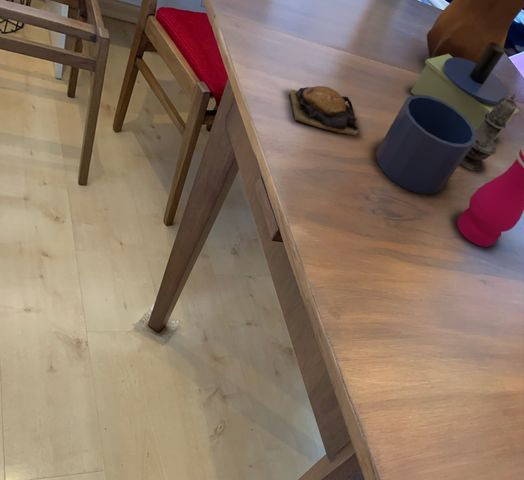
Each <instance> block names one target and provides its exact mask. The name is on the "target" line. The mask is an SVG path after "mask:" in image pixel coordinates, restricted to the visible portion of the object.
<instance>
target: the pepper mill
mask: <svg viewBox="0 0 524 480" xmlns="http://www.w3.org/2000/svg"><path fill="white" fill-rule="evenodd" d="M515 156H516V158H515V160H514V161H513V163H512V164H511V165H510V166H509V167H508V168H507V169H506V170H505V171H504V172H502V173H501V174H500V175H498V176H497V177H494V178H493V179H492V180H490V181H488V182H486V183H484V184H483V185H481V186H480V187H479V188H477V190H476V191H475V192H474V193H473V194H472V195H471V197H470V199H469V202H468V208H466V209H464V211H463V212H462V213H461V214H460V215H459V217H458V218H457V221H456V224H457V228H458V230H459V232H460V233H461V235H462V236H463V237H464V238H465V239H466V240H467V241H469V242H471V243H472V244H474V245H477V246H479V247H483V248H489V247H492V246H493V245H494V244H495V243H496V242H497V241H498V240H499V239H500V238H501V236H502V233H503V232H509V231H510V230H512V229H514V227H516V226H517V224H518V223H519V222H520V220H521V217H522V216H523V214H524V144H523V145H522V146H521V148H520V149H519V150H518V151H517V152H516V155H515Z"/></svg>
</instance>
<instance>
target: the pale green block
mask: <svg viewBox="0 0 524 480" xmlns="http://www.w3.org/2000/svg"><path fill="white" fill-rule="evenodd" d="M449 58H453V57H452V56H451V55H449V54H446V55H442V56H438V57H434V58H428V59H426V60H425V62H424V63H425V65H424V67H423V70H421V73H420V74H419V76H418V78H417V80H416V81H415V84H414V85H413V87H412V88H411V91H410V93H411V94H412V95H426V96H430V97H433V98H436V99H439V100H442V101H443V102H445V103H447V104H449V105H450V106H452V107H454V108H455V109H457V110H458V111H459V112H460V113H461V114H463V115H464V116H465V117H466V118H467V119H468V121H469V122H470V123H471V125H472V126H473V127H474V129H475V130H477V129H478V128H479V127H480V126H481V124H482V123H483V121H484V120H485V115H486V114H490V112H491V111H492V109H493V108H494V107H495V105H496V104H490V103H486V102H483V101H480V100H478V99H475V98H473V97H471V96H470V95H468V94H466V93H465V92H463V91H462V90H460V89H459V88H458V87H457V86H455V85H454V84H453V83H452V82H451V81H450V80H449V78H448V77H447V76H446V74H445V72H444V69H443V65H444V63H445V61H446V60H447V59H449ZM520 111H521V110H520V109H518V108H517V107H516V109H515V111H514V113H513V114H512V115H511V117H510V118H509V119H508V121H507V122H506V123H505V124H506V126H507V125H508V124H509V122H510V121H511V120H512V118H513V117H514V116H515V115H517V114H519V112H520ZM503 130H504V129H501V131H500V132H499V133H498V135H497V136H496V137H495V139H494V141H495V140H497V138H498V137H499V135H500V134H501V133H502V132H503Z"/></svg>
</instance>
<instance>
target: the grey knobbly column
mask: <svg viewBox="0 0 524 480" xmlns="http://www.w3.org/2000/svg"><path fill="white" fill-rule="evenodd" d="M514 99H516V94H515V93H514V94H511V95H510V97H509V96H508V97H503V98H501V99H500V100H499V101H498V102H497V104H496V105H495V107H494V108H493V109H492V111H491V112H490V114H486V115H485V120H484V121H483V123H482V124H481V126H480V127H479V128H478V129H477V130H475V132H476V135H477V137H476V140H475V144H474V145H473V146H472V148H471V149H470V151H469V152H468V153H467V155H466V156H465V157H464V159H463V160H462V162H461V163H460V164H459V165H461V166H462V167H464V168H465V169H468V170H470V171H480V170H482V167H483V164H482V161H484V160H487V159H488V158H489V157H491V156H492V155H494V154H496V153H497V146H496V143H495V140H496V139H495V137H496V136H497V135H498V133H499V132H500V131H501V129H503V130H505V129H506V127H507V125H506V124H505V123H506V122H507V121H508V119H509V118H510V117H511V115H512V114H513V113H514V111H515V109H516V108H517V103H516V102H515V100H514ZM501 132H502V131H501ZM498 136H499V135H498ZM494 139H495V140H494Z"/></svg>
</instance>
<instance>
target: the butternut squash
mask: <svg viewBox="0 0 524 480" xmlns="http://www.w3.org/2000/svg"><path fill="white" fill-rule="evenodd" d="M523 9H524V0H451V2H450V3H449V4H448V5H447V6H446V7H444V9H443V10H442V11H441V12H440V14H439V15H438V16H437V18H436V20H435V21H434V23H433V25H432V27H431V28H430V29H429V30H428V32H427V33H426V42H427V49H428V56H429V57H430V58H429V59H431V58H434V57H438V56H442V55H446V54H449V55H451V56H452V57H457V58H463V59H467V60H470V61H472V62H475V63H478V61H479V59H480V58H481V56H482V55H483V53H484V52H485V50H486V49H487V47H488V45H489V44H490V43H491V42H493V43H496V44H498V45H500V46H501V47H502V48H503V49H504V47H505V44H506V40H507V37H508V32H509V30H510V28H511V25H512V24H513V23H514V20H515V19H516V18H517V16H518V15H519V14H520V13H521V11H522V10H523Z"/></svg>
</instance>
